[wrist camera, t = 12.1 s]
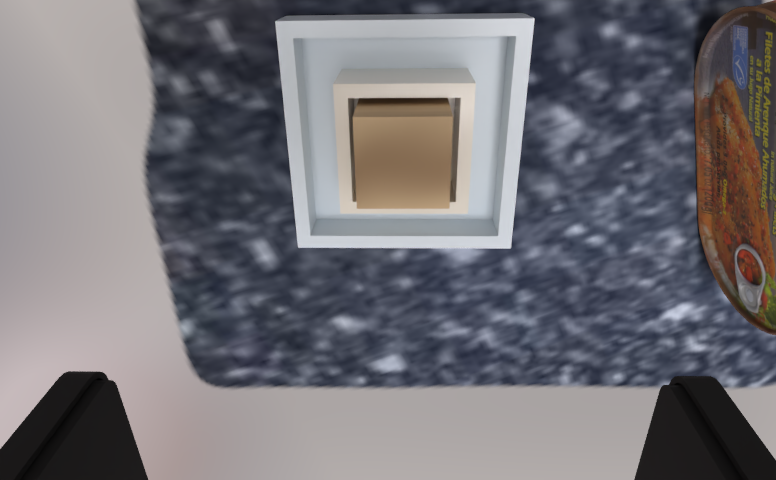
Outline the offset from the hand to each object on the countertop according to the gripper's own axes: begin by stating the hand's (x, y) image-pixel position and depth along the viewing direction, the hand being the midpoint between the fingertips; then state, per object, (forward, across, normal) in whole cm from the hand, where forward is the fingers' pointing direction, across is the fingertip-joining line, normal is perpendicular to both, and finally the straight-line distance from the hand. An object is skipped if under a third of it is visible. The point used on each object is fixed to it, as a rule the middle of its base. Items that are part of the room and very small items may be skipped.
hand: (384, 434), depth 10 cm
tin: (+21, -17, +2) cm, 27 cm away
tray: (+20, 0, +1) cm, 20 cm away
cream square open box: (+20, 0, 0) cm, 20 cm away
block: (+19, 0, 0) cm, 19 cm away
